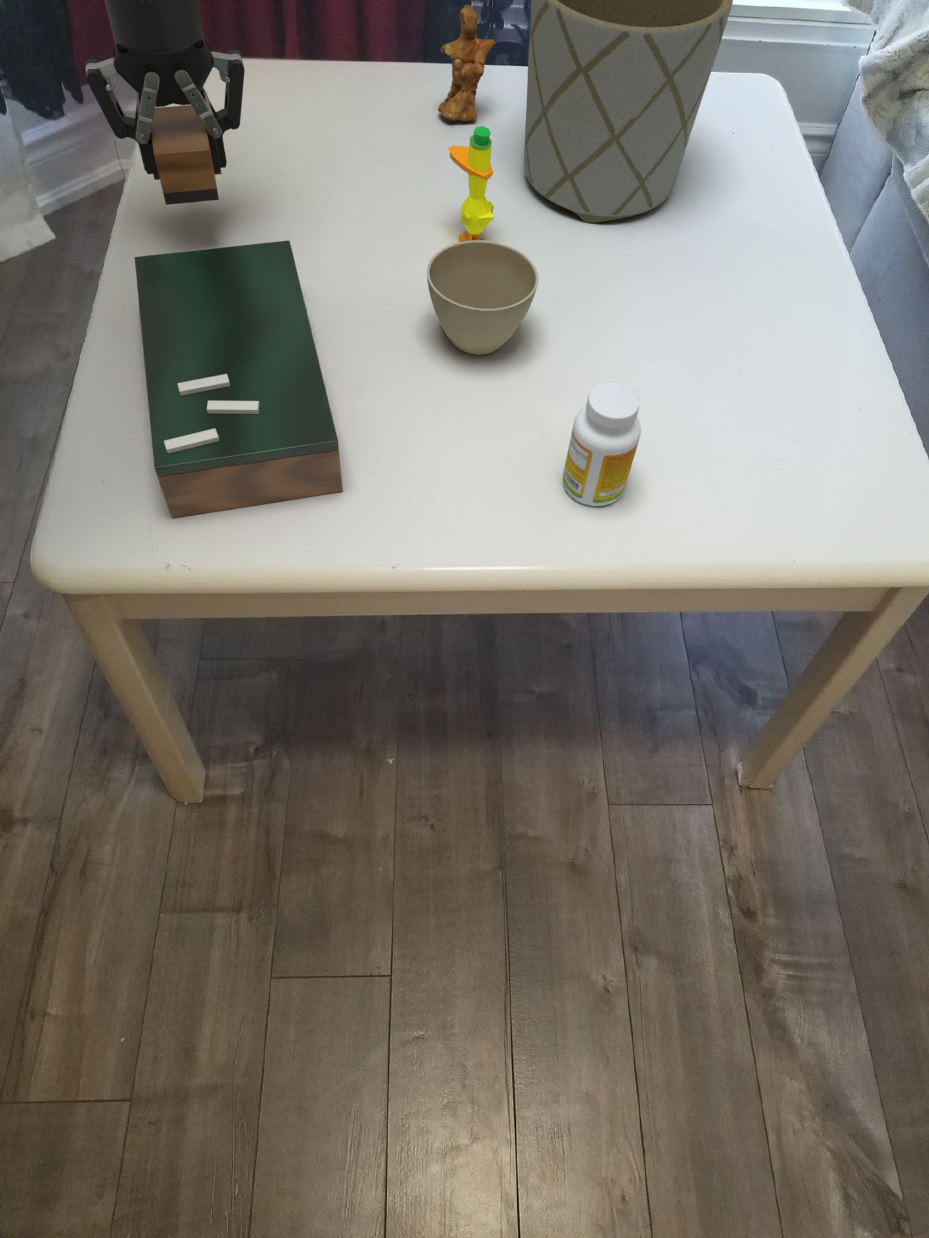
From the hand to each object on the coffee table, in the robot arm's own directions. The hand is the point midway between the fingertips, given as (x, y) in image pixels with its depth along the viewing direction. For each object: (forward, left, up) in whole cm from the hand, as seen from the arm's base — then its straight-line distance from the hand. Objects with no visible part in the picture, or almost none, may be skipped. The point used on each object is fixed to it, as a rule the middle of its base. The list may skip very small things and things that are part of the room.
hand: (187, 172), depth 89 cm
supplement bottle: (+29, -41, -7) cm, 51 cm away
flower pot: (+24, -21, -7) cm, 33 cm away
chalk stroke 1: (-1, -29, -1) cm, 29 cm away
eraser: (0, 0, -1) cm, 1 cm away
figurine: (+32, +17, -7) cm, 37 cm away
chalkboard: (+1, -24, -7) cm, 25 cm away
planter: (+44, +2, -7) cm, 45 cm away
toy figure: (+27, -6, -7) cm, 29 cm away
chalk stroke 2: (-3, -35, -1) cm, 36 cm away
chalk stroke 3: (+1, -32, -1) cm, 32 cm away
